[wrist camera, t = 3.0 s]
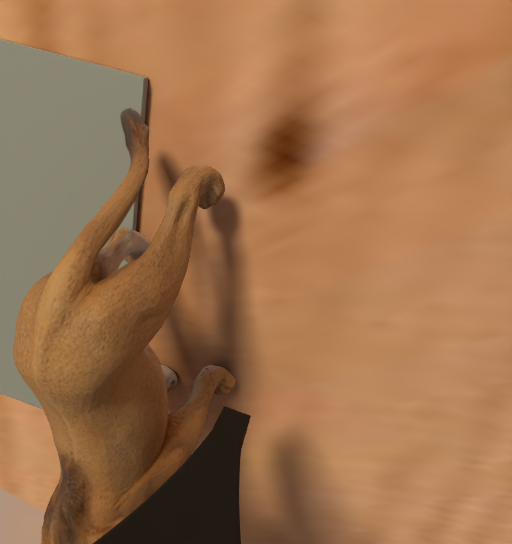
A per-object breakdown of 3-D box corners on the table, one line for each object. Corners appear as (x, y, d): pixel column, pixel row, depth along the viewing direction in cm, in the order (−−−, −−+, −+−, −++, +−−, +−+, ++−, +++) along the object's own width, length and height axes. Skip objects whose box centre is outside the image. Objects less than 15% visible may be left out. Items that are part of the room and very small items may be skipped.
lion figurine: (278, 457, 19) (186, 741, 11) (170, 438, 21) (31, 672, 13) (215, 95, 12) (-107, 210, 5) (64, 114, 14) (-339, 220, 7)
